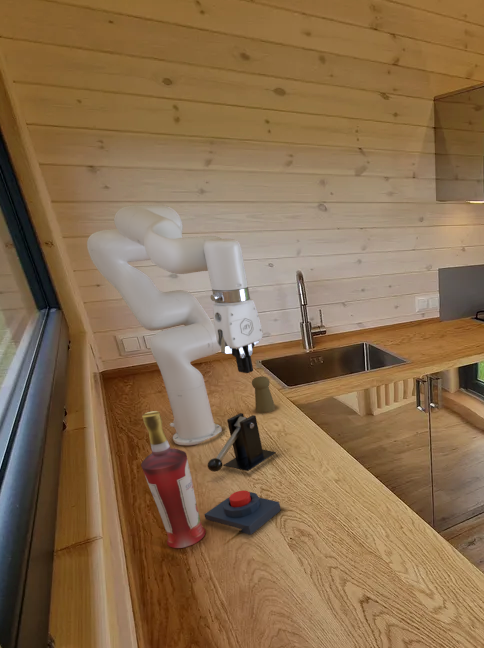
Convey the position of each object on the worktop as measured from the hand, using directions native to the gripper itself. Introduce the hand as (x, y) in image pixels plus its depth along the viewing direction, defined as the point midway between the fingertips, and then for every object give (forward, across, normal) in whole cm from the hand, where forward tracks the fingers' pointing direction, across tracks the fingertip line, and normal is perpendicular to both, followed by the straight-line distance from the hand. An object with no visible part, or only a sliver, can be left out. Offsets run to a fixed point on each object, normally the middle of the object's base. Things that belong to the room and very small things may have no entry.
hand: (245, 371), depth 118 cm
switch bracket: (+24, -2, +2) cm, 25 cm away
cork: (+25, +26, +23) cm, 43 cm away
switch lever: (+18, -7, +2) cm, 19 cm away
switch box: (+24, -21, -15) cm, 35 cm away
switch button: (+21, -21, -15) cm, 33 cm away
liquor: (+24, -32, -10) cm, 41 cm away
